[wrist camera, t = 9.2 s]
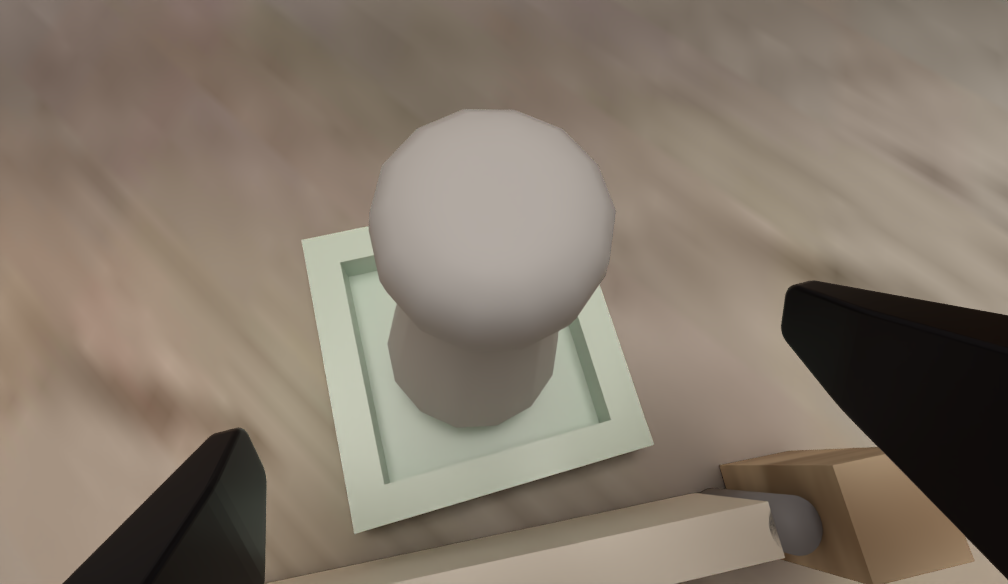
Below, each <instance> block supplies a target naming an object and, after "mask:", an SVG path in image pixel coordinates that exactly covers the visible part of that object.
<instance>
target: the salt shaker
mask: <svg viewBox="0 0 1008 584" xmlns="http://www.w3.org/2000/svg"><path fill="white" fill-rule="evenodd" d="M615 214H616V210H615V207H614V204H613V202H612V199H611V197H610V194H609V192H608V189H607V186H606V184H605V181H604V179H603V176H602V173H601V171H600V168H599V166H598V164H597V163H596V162H595V161H594V160H593V159H592V158H591V157H590V156H589V155H588V154H587V153H586V152H585V151H584V150H583V149H582V148H581V147H580V146H579V145H578V144H577V143H576V142H575V141H574V140H573V139H572V138H571V137H570V136H569V135H568V134H567V133H566V132H565V131H564V130H563V129H562V128H559V127H557V126H554V125H552V124H549V123H547V122H544V121H542V120H539V119H537V118H534V117H532V116H529V115H527V114H524V113H522V112H519V111H517V110H491V109H463V110H460V111H458V112H455V113H453V114H451V115H448V116H446V117H443V118H441V119H439V120H436V121H434V122H431V123H429V124H427V125H424V126H422V127H419V128H417V129H416V130H415V131H414V132H413V133H412V134H411V135H410V136H409V137H408V138H407V139H406V140H405V142H404V143H403V144H402V145H401V146H400V147H399V148H398V149H397V150H396V151H395V152H394V153H393V154H392V155H391V156H390V157H389V158H388V159H387V160H386V161H385V162H384V163H383V164H382V168H381V171H380V175H379V179H378V183H377V186H376V190H375V194H374V198H373V201H372V205H371V209H370V213H369V234H370V239H371V244H372V248H373V253H374V258H375V262H376V267H377V272H378V276H379V281H380V282H381V284H382V286H383V287H384V289H385V290H386V292H387V293H388V294H389V295H390V296H391V298H392V299H393V300H394V301H395V302H396V303H397V304H396V308H395V312H394V317H393V321H392V326H391V330H390V334H389V339H388V343H387V345H388V350H389V355H390V359H391V364H392V369H393V374H394V379H395V382H396V383H397V384H398V385H399V387H400V388H401V389H402V390H403V391H404V392H405V394H406V395H407V396H408V397H409V398H410V400H411V401H412V402H413V403H414V404H415V405H416V407H417V408H418V409H419V410H420V411H421V412H423V413H425V414H427V415H430V416H432V417H434V418H436V419H438V420H441V421H443V422H445V423H447V424H450V425H452V426H454V427H456V428H460V427H479V426H497V425H499V424H501V423H502V422H504V421H506V420H508V419H510V418H511V417H513V416H515V415H517V414H519V413H520V412H522V411H524V410H526V409H528V408H529V407H531V406H532V405H533V403H534V402H535V400H536V399H537V397H538V396H539V394H540V393H541V391H542V390H543V388H544V387H545V385H546V384H547V383H548V381H549V380H550V378H551V377H552V375H553V369H554V362H555V355H556V349H557V342H558V333H559V331H560V330H562V329H564V328H566V327H567V326H569V325H570V324H571V323H572V322H573V321H574V320H575V319H576V318H577V317H578V315H579V314H580V312H581V311H582V309H583V308H584V306H585V305H586V303H587V302H588V300H589V299H590V298H591V296H592V295H593V293H594V292H595V290H596V289H597V287H598V286H599V284H600V283H601V281H602V280H603V278H604V277H605V275H606V271H607V267H608V264H609V260H610V252H611V244H612V237H613V229H614V222H615Z"/></svg>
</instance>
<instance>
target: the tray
mask: <svg viewBox="0 0 1008 584" xmlns="http://www.w3.org/2000/svg"><path fill="white" fill-rule="evenodd" d="M302 245H303V251H304V256H305V262H306V267H307V273H308V278H309V284H310V290H311V295H312V301H313V306H314V312H315V317H316V323H317V329H318V334H319V340H320V345H321V351H322V356H323V362H324V368H325V373H326V379H327V384H328V390H329V395H330V401H331V407H332V412H333V418H334V423H335V429H336V434H337V440H338V446H339V451H340V457H341V462H342V468H343V473H344V479H345V484H346V490H347V496H348V501H349V507H350V512H351V518H352V523H353V529H354V534H356V533H360V532H363V531H366V530H370V529H373V528H376V527H380V526H383V525H387V524H390V523H393V522H397V521H400V520H403V519H407V518H410V517H413V516H417V515H420V514H423V513H427V512H430V511H434V510H437V509H440V508H444V507H447V506H450V505H454V504H457V503H460V502H464V501H467V500H470V499H474V498H477V497H481V496H484V495H487V494H491V493H494V492H497V491H501V490H504V489H507V488H511V487H514V486H517V485H521V484H524V483H528V482H531V481H534V480H538V479H541V478H544V477H548V476H551V475H554V474H558V473H561V472H564V471H568V470H571V469H575V468H578V467H581V466H585V465H588V464H591V463H595V462H598V461H601V460H605V459H608V458H611V457H615V456H618V455H622V454H625V453H628V452H632V451H635V450H638V449H642V448H645V447H648V446H652V445H654V443H653V440H652V437H651V434H650V431H649V428H648V425H647V422H646V419H645V416H644V414H643V411H642V408H641V405H640V402H639V399H638V396H637V393H636V390H635V387H634V384H633V381H632V378H631V375H630V372H629V369H628V366H627V364H626V361H625V358H624V355H623V352H622V349H621V346H620V343H619V340H618V337H617V334H616V331H615V328H614V325H613V322H612V319H611V316H610V314H609V311H608V308H607V305H606V302H605V299H604V296H603V293H602V290H601V287H600V284H599V286H598V287H597V289H596V290H595V292H594V293H593V295H592V296H591V298H590V299H589V300H588V302H587V303H586V305H585V306H584V308H583V309H582V311H581V312H580V314H579V315H578V317H577V318H576V319H575V320H574V321H573V322H572V323H571V324H570V325H569V326H567V327H566V328H564V329H562V330H560V331H559V333H558V342H557V349H556V355H555V362H554V369H553V375H552V377H551V378H550V380H549V381H548V383H547V384H546V385H545V387H544V388H543V390H542V391H541V393H540V394H539V396H538V397H537V399H536V400H535V402H534V403H533V405H532V406H531V407H529V408H528V409H526V410H524V411H522V412H520V413H519V414H517V415H515V416H513V417H511V418H510V419H508V420H506V421H504V422H502V423H501V424H499V425H497V426H479V427H460V428H456V427H454V426H452V425H450V424H447V423H445V422H443V421H441V420H438V419H436V418H434V417H432V416H430V415H427V414H425V413H423V412H421V411H420V410H419V409H418V408H417V407H416V405H415V404H414V403H413V402H412V401H411V400H410V398H409V397H408V396H407V395H406V394H405V392H404V391H403V390H402V389H401V388H400V387H399V385H398V384H397V383H396V382H395V379H394V374H393V369H392V364H391V359H390V355H389V350H388V345H387V343H388V339H389V334H390V330H391V326H392V321H393V317H394V312H395V308H396V304H397V303H396V302H395V301H394V300H393V299H392V298H391V296H390V295H389V294H388V293H387V292H386V290H385V289H384V287H383V286H382V284H381V282H380V281H379V276H378V272H377V267H376V262H375V258H374V253H373V248H372V244H371V239H370V234H369V226H367V227H362V228H357V229H353V230H348V231H343V232H338V233H333V234H328V235H324V236H319V237H314V238H309V239H304V240H302Z"/></svg>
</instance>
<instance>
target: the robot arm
mask: <svg viewBox="0 0 1008 584" xmlns="http://www.w3.org/2000/svg"><path fill="white" fill-rule="evenodd" d="M781 330H782V334H783V337H784V339H785V340H786V342H787V343H788V344H789V346H790V347H791V348H792V349H793V351H794V352H795V353H796V354H797V355H798V357H799V358H800V359H801V360H802V362H803V363H804V364H805V365H806V367H807V368H808V369H809V370H810V372H811V373H812V374H813V375H814V377H815V378H816V379H817V380H818V381H819V383H820V384H821V385H822V386H823V388H824V389H825V390H826V391H827V393H828V394H829V395H830V396H831V398H832V399H833V400H834V401H835V402H836V403H837V405H838V406H839V407H840V408H841V409H842V410H843V411H844V412H845V413H846V415H847V416H848V417H849V418H850V419H851V420H852V421H853V422H854V423H855V424H856V425H857V426H858V427H859V428H860V429H861V430H862V431H863V432H864V433H865V434H866V435H867V436H868V437H869V438H870V439H871V440H872V441H873V442H874V443H875V444H876V445H877V446H878V447H879V448H880V449H881V451H882V452H883V453H884V454H885V455H886V456H887V457H888V458H889V459H890V460H891V461H892V462H893V463H894V464H895V465H896V466H897V467H898V468H899V469H900V470H901V471H902V472H903V473H904V474H905V475H906V476H907V477H908V478H909V479H910V480H911V481H912V482H913V483H914V484H915V485H916V486H917V487H918V488H919V489H920V490H921V491H922V492H923V494H924V495H925V496H926V497H927V498H928V499H929V500H930V501H931V502H932V503H933V504H934V505H935V506H936V507H937V508H938V509H939V510H940V511H941V512H942V513H943V514H944V515H945V516H946V517H947V518H948V519H949V520H950V521H951V522H952V523H953V524H954V525H955V526H956V527H957V528H958V529H959V530H960V531H961V532H962V533H963V534H964V535H965V536H966V538H967V539H968V540H969V541H970V542H971V543H972V544H973V545H974V546H975V547H976V548H977V549H978V550H979V551H980V552H981V553H982V554H983V555H984V556H985V557H986V558H987V559H988V560H989V561H990V562H991V563H992V564H993V565H994V566H995V567H996V568H997V569H998V570H999V571H1000V572H1001V573H1002V574H1003V575H1004V576H1005V577H1006V578H1007V579H1008V315H1003V314H997V313H992V312H986V311H981V310H975V309H970V308H964V307H959V306H953V305H948V304H942V303H936V302H931V301H925V300H920V299H914V298H909V297H903V296H898V295H892V294H887V293H881V292H876V291H870V290H864V289H859V288H853V287H848V286H842V285H837V284H831V283H826V282H820V281H807V282H803V283H799V284H795V285H792V286H791V287H789V288H788V290H787V292H786V295H785V302H784V309H783V316H782V323H781ZM265 545H266V475H265V471H264V467H263V465H262V463H261V461H260V459H259V457H258V454H257V452H256V450H255V448H254V446H253V444H252V442H251V440H250V437H249V435H248V434H247V432H246V431H245V430H244V429H242V428H234V429H230V430H226V431H223V432H219V433H215V434H213V435H211V436H210V437H209V438H208V439H207V440H206V441H205V442H204V443H203V444H202V445H201V446H200V447H199V448H198V449H197V450H196V451H195V452H194V453H193V454H192V455H191V456H190V457H189V458H188V459H187V460H186V461H185V462H184V463H183V464H182V465H181V466H180V467H179V468H178V469H177V470H176V471H175V472H174V473H173V474H172V475H171V476H170V477H169V478H168V479H167V480H166V481H165V482H164V483H163V484H162V485H161V486H160V487H159V488H158V489H157V490H156V491H155V492H154V493H153V494H152V495H151V496H150V497H149V498H148V499H147V500H146V501H145V502H144V503H143V504H142V505H141V506H140V507H139V508H138V509H137V510H136V511H135V512H134V513H133V514H132V515H131V516H130V517H129V518H128V519H127V520H126V521H125V522H124V523H123V524H122V525H121V526H120V527H119V528H118V529H117V530H116V531H115V532H114V533H113V534H112V535H111V536H110V537H109V538H108V539H107V540H106V541H105V542H104V543H103V544H102V545H101V546H100V547H99V548H98V549H97V550H96V551H95V552H94V553H93V554H92V555H91V556H90V557H89V558H88V559H87V560H86V561H85V562H84V563H83V564H82V565H81V566H80V567H79V568H78V569H77V570H76V571H75V572H74V573H73V574H72V575H71V576H70V577H69V578H68V579H67V580H66V581H65V582H64V583H63V584H264V582H265Z"/></svg>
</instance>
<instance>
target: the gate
mask: <svg viewBox="0 0 1008 584" xmlns="http://www.w3.org/2000/svg"><path fill="white" fill-rule="evenodd" d="M822 534H823V527H822V522H821V518H820V516H819V514H818V512H817V510H816V509H815V507H814V506H813V505H812V504H811V503H810V502H809V501H807V500H806V499H804V498H802V497H799V496H796V495H786V494H775V493H764V492H752V491H741V490H730V489H719V488H709V489H706V490H704V491H702V492H701V493H700V494H699V493H692V494H687V495H682V496H678V497H673V498H668V499H664V500H659V501H654V502H649V503H645V504H640V505H635V506H630V507H626V508H621V509H616V510H611V511H607V512H602V513H597V514H592V515H588V516H583V517H578V518H573V519H569V520H564V521H559V522H555V523H550V524H545V525H540V526H536V527H531V528H526V529H521V530H517V531H512V532H507V533H502V534H498V535H493V536H488V537H483V538H479V539H474V540H469V541H464V542H460V543H455V544H450V545H446V546H441V547H436V548H431V549H427V550H422V551H417V552H412V553H408V554H403V555H398V556H393V557H389V558H384V559H379V560H374V561H370V562H365V563H360V564H355V565H351V566H346V567H341V568H337V569H332V570H327V571H322V572H318V573H313V574H308V575H303V576H299V577H294V578H289V579H284V580H280V581H275V582H270V583H265V584H676V583H680V582H685V581H689V580H693V579H697V578H702V577H706V576H710V575H715V574H719V573H723V572H727V571H732V570H736V569H740V568H744V567H749V566H753V565H757V564H761V563H766V562H770V561H774V560H779V559H783V558H785V556H784V553H788V554H792V555H796V556H804V555H808V554H810V553H812V552H813V551H814V550H815V549H816V548H817V547H818V546H819V544H820V542H821V539H822Z"/></svg>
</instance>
